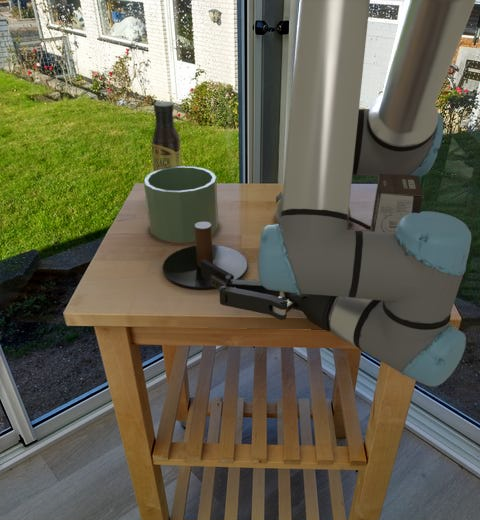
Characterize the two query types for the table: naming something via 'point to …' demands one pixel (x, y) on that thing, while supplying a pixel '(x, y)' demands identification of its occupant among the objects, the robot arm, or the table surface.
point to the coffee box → (395, 201)
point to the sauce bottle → (165, 138)
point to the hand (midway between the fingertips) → (235, 252)
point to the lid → (189, 260)
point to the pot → (180, 202)
